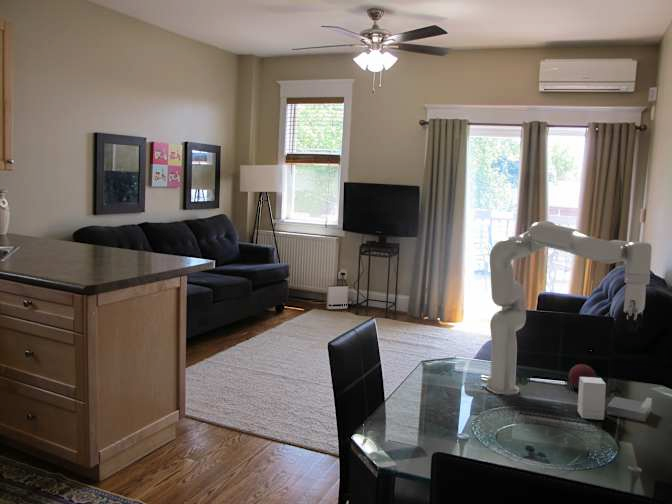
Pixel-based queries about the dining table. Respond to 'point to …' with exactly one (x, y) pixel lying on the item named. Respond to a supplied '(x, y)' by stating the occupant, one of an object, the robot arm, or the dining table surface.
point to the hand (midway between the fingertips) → (634, 328)
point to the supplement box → (591, 398)
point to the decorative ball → (580, 374)
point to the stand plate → (629, 408)
